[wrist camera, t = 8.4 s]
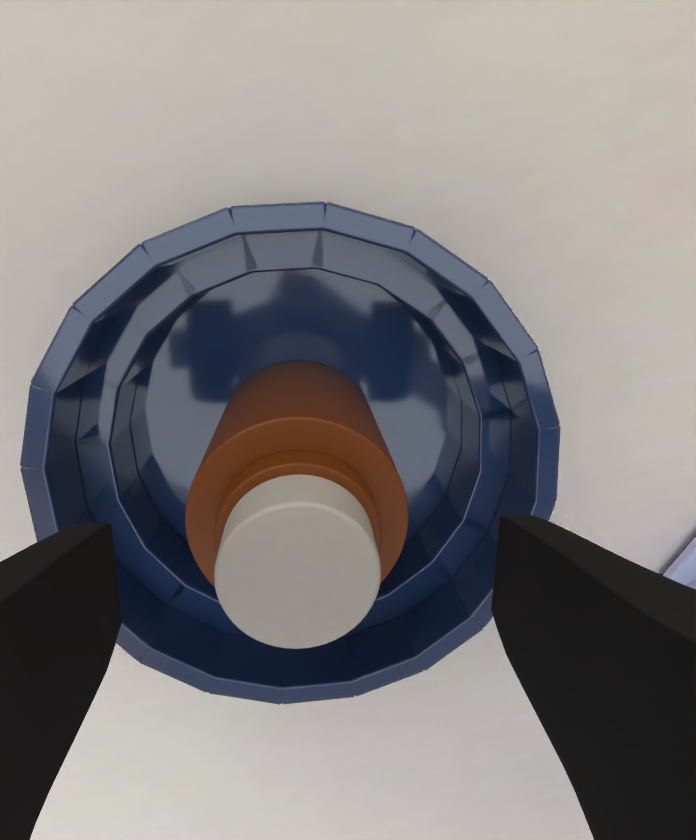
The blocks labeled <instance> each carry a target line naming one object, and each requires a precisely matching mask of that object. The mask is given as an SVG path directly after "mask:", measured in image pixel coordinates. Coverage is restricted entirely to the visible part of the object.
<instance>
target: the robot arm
mask: <svg viewBox="0 0 696 840" xmlns="http://www.w3.org/2000/svg"><path fill="white" fill-rule="evenodd" d="M491 611H492V614H493V617H494V620H495V623H496V626H497V629H498V632H499V635H500V638H501V641H502V643H503V646H504V649H505V652H506V654H507V657H508V659H509V661H510V663H511V665H512V667H513V669H514V671H515V673H516V675H517V677H518V679H519V681H520V683H521V685H522V687H523V689H524V691H525V693H526V695H527V697H528V698H529V700H530V702H531V704H532V706H533V708H534V710H535V712H536V714H537V716H538V718H539V720H540V722H541V724H542V725H543V727H544V729H545V731H546V733H547V735H548V737H549V739H550V741H551V743H552V745H553V747H554V749H555V751H556V753H557V754H558V756H559V758H560V760H561V762H562V764H563V766H564V768H565V771H566V773H567V775H568V777H569V779H570V781H571V784H572V786H573V788H574V790H575V792H576V795H577V797H578V800H579V802H580V805H581V807H582V810H583V812H584V815H585V818H586V820H587V823H588V825H589V828H590V830H591V833H592V835H593V838H594V840H696V536H695V538H694V539H693V540H692V541H691V542H690V543H689V545H688V546H687V547H686V548H685V549H684V550H683V552H682V553H681V554H680V555H679V556H678V558H677V559H676V560H675V561H674V562H673V563H672V565H671V566H670V567H669V568H668V569H667V570H666V572H665V573H664V574H663V575H660V574H658V573H656V572H653V571H651V570H649V569H646V568H644V567H642V566H640V565H638V564H636V563H633V562H631V561H629V560H627V559H625V558H623V557H621V556H619V555H617V554H614V553H612V552H610V551H608V550H606V549H604V548H602V547H600V546H598V545H596V544H594V543H592V542H590V541H588V540H586V539H584V538H582V537H580V536H578V535H576V534H574V533H572V532H570V531H568V530H566V529H564V528H562V527H560V526H558V525H556V524H553V523H551V522H549V521H547V520H544V519H542V518H539V517H536V516H533V515H507V516H500V522H499V532H498V542H497V552H496V563H495V573H494V583H493V594H492V604H491ZM121 623H122V616H121V606H120V597H119V588H118V579H117V570H116V561H115V551H114V542H113V533H112V524H111V523H106V524H76V525H73V526H70V527H68V528H65V529H63V530H61V531H59V532H57V533H55V534H53V535H51V536H49V537H47V538H45V539H43V540H41V541H39V542H37V543H35V544H33V545H31V546H29V547H28V548H26V549H24V550H22V551H20V552H18V553H16V554H14V555H13V556H11V557H9V558H7V559H5V560H3V561H1V562H0V840H30V837H31V834H32V832H33V829H34V826H35V823H36V821H37V818H38V816H39V814H40V811H41V809H42V807H43V805H44V802H45V800H46V798H47V795H48V793H49V791H50V789H51V787H52V784H53V782H54V780H55V778H56V776H57V774H58V772H59V770H60V768H61V766H62V764H63V762H64V759H65V757H66V755H67V753H68V751H69V749H70V747H71V745H72V743H73V741H74V739H75V737H76V735H77V732H78V730H79V728H80V726H81V724H82V722H83V720H84V718H85V716H86V714H87V712H88V710H89V707H90V705H91V703H92V701H93V699H94V697H95V695H96V693H97V690H98V688H99V686H100V684H101V682H102V680H103V678H104V675H105V673H106V671H107V668H108V665H109V662H110V659H111V656H112V653H113V650H114V647H115V643H116V640H117V637H118V633H119V630H120V627H121Z"/></svg>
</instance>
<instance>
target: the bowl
mask: <svg viewBox="0 0 696 840" xmlns="http://www.w3.org/2000/svg"><path fill="white" fill-rule="evenodd" d="M288 361H308V362H314V363H318V364H322V365H325V366H328V367H330V368H332V369H334V370H336V371H338V372H340V373H341V374H343V375H344V376H346V377H347V378H348V379H350V380H351V381H352V382H353V383H354V384H355V385H356V386H357V387H358V389H359V390H360V391H361V392H362V394H363V395H364V397H365V399H366V400H367V402H368V404H369V406H370V409H371V411H372V413H373V416H374V418H375V420H376V423H377V425H378V427H379V430H380V432H381V434H382V436H383V439H384V441H385V443H386V446H387V448H388V450H389V453H390V455H391V457H392V460H393V462H394V464H395V467H396V469H397V471H398V474H399V476H400V478H401V480H402V483H403V485H404V489H405V493H406V496H407V503H408V510H409V511H408V528H407V535H406V539H405V542H404V545H403V549H402V551H401V553H400V555H399V557H398V560H397V562H396V563H395V565H394V566H393V568H392V569H391V571H390V573H389V574H388V575H387V576H386V577H385V579H384V580H383V581H382V582H381V583H380V587H379V590H378V593H377V596H376V599H375V601H374V603H373V605H372V607H371V608H370V610H369V612H368V613H367V615H366V616H365V617H364V618H363V619H362V621H361V622H360V623H359V624H358V625H357V626H355V627H354V628H353V629H352V630H351V631H349V632H348V633H346V634H345V635H343V636H342V637H340V638H338V639H336V640H334V641H331V642H329V643H327V644H323V645H320V646H316V647H310V648H301V649H290V648H281V647H275V646H272V645H268V644H265V643H263V642H260V641H258V640H256V639H254V638H252V637H250V636H248V635H247V634H246V633H244V632H243V631H241V630H240V629H239V628H238V627H237V626H236V625H235V624H234V623H233V622H232V621H231V620H230V618H229V617H228V616H227V615H226V613H225V611H224V610H223V608H222V606H221V604H220V602H219V599H218V597H217V593H216V589H215V587H214V586H213V585H212V584H211V583H210V582H209V580H208V579H207V578H206V577H205V575H204V574H203V573H202V571H201V570H200V568H199V566H198V564H197V563H196V561H195V559H194V557H193V554H192V552H191V549H190V547H189V543H188V539H187V535H186V526H185V511H186V503H187V498H188V494H189V491H190V488H191V485H192V482H193V480H194V477H195V475H196V473H197V471H198V468H199V466H200V464H201V462H202V459H203V457H204V455H205V453H206V450H207V448H208V446H209V444H210V441H211V439H212V437H213V435H214V432H215V430H216V428H217V426H218V423H219V421H220V419H221V417H222V414H223V412H224V410H225V408H226V406H227V404H228V402H229V400H230V398H231V396H232V395H233V394H234V392H235V391H236V389H237V388H238V387H239V386H240V385H241V384H242V383H243V382H244V381H245V380H246V379H248V378H249V377H250V376H251V375H253V374H255V373H256V372H258V371H259V370H261V369H264V368H266V367H268V366H271V365H274V364H277V363H282V362H288ZM31 383H32V384H31V385H30V390H29V398H28V406H27V414H26V422H25V430H24V438H23V446H22V454H21V462H20V465H21V466H22V467H21V473H22V478H23V482H24V486H25V491H26V495H27V499H28V504H29V508H30V512H31V517H32V521H33V525H34V530H35V534H36V538H37V542H39V541H41V540H43V539H45V538H47V537H49V536H51V535H53V534H55V533H57V532H59V531H61V530H63V529H65V528H68V527H70V526H73V525H76V524H106V523H111V524H112V533H113V542H114V551H115V561H116V570H117V579H118V588H119V597H120V606H121V616H122V623H121V627H120V630H119V633H118V637H117V640H116V643H117V644H118V645H119V646H120V647H121V648H123V649H124V650H125V651H126V652H127V653H128V654H130V655H131V656H132V657H133V658H134V659H136V660H137V661H138V660H139V662H140V663H141V664H144V665H146V666H148V667H150V668H153V669H155V670H157V671H159V672H161V673H164V674H166V675H168V676H170V677H173V678H175V679H177V680H179V681H182V682H184V683H186V684H188V685H190V686H193V687H195V688H197V689H199V690H202V691H204V692H208V693H210V694H217V695H223V696H229V697H236V698H242V699H249V700H255V701H261V702H268V703H274V704H281V703H282V704H291V703H301V702H311V701H321V700H330V699H340V698H350V697H354V696H355V695H356V696H359V695H362V694H365V693H367V692H370V691H372V690H375V689H378V688H380V687H383V686H386V685H388V684H391V683H394V682H396V681H399V680H402V679H404V678H407V677H410V676H412V675H415V674H418V673H420V672H422V671H423V670H427V669H428V668H430V667H431V666H433V665H434V664H435V663H437V662H438V661H439V660H441V659H442V658H444V657H445V656H446V655H448V654H449V653H451V652H452V651H453V650H455V649H456V648H458V647H459V646H460V645H462V644H463V643H464V642H466V641H467V640H469V639H470V638H471V637H473V636H474V635H476V634H477V633H478V632H480V631H481V630H482V629H483V627H485V626H486V625H487V623H488V622H489V621H490V620H491V618H492V617H493V614H492V611H491V604H492V594H493V583H494V573H495V563H496V552H497V542H498V532H499V522H500V516H507V515H533V516H536V517H539V518H542V519H544V520H547V521H549V518H550V516H551V513H552V511H553V508H554V506H555V501H556V498H557V480H558V462H559V443H560V426H559V419H558V415H557V412H556V408H555V405H554V401H553V398H552V394H551V391H550V387H549V384H548V380H547V377H546V373H545V370H544V366H543V363H542V359H541V356H540V352H539V350H538V347H537V345H536V344H535V342H534V341H533V340H532V338H531V337H530V335H529V334H528V333H527V331H526V330H525V328H524V327H523V325H522V324H521V323H520V321H519V320H518V318H517V317H516V316H515V314H514V313H513V311H512V310H511V309H510V307H509V306H508V304H507V303H506V301H505V300H504V299H503V297H502V296H501V294H500V293H499V292H498V290H497V289H496V287H495V286H494V285H493V283H492V282H491V281H490V280H488V278H487V277H486V276H484V275H483V274H481V273H480V272H478V271H477V270H476V269H474V268H473V267H471V266H470V265H469V264H467V263H466V262H464V261H463V260H462V259H460V258H459V257H457V256H456V255H454V254H453V253H452V252H450V251H449V250H447V249H446V248H445V247H443V246H442V245H440V244H439V243H437V242H436V241H435V240H433V239H432V238H430V237H429V236H428V235H426V234H425V233H423V232H422V231H421V230H419V229H415V228H414V227H413V226H409V225H406V224H403V223H399V222H396V221H392V220H389V219H385V218H382V217H378V216H375V215H371V214H368V213H364V212H361V211H358V210H354V209H351V208H347V207H344V206H340V205H337V204H333V203H330V202H327V203H326V204H325V202H303V203H283V204H264V205H245V206H232V207H230V208H224V209H221V210H219V211H216V212H214V213H212V214H209V215H207V216H204V217H202V218H199V219H197V220H194V221H192V222H189V223H187V224H185V225H182V226H180V227H177V228H175V229H172V230H170V231H167V232H165V233H163V234H160V235H158V236H155V237H153V238H150V239H148V240H145V241H143V242H142V244H138V245H137V246H136V247H135V248H134V249H132V250H131V251H130V252H129V253H128V254H127V255H126V256H125V257H124V258H122V259H121V260H120V261H119V262H118V263H117V264H116V265H115V266H114V267H112V268H111V269H110V270H109V271H108V272H107V273H106V274H105V275H104V276H102V277H101V278H100V279H99V280H98V281H97V282H96V283H95V284H94V285H92V286H91V287H90V288H89V289H88V290H87V291H86V292H85V293H84V294H82V295H81V296H80V297H79V298H78V299H77V300H76V301H75V302H74V303H73V306H71V307H70V308H69V310H68V312H67V314H66V315H65V317H64V319H63V321H62V323H61V325H60V327H59V329H58V331H57V333H56V335H55V336H54V338H53V340H52V342H51V344H50V346H49V348H48V350H47V352H46V354H45V356H44V357H43V359H42V361H41V363H40V365H39V367H38V369H37V371H36V373H35V375H34V377H33V378H32V380H31Z"/></svg>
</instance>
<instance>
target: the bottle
mask: <svg viewBox="0 0 696 840" xmlns="http://www.w3.org/2000/svg"><path fill="white" fill-rule="evenodd" d="M408 511H409V510H408V503H407V496H406V493H405V489H404V485H403V483H402V480H401V478H400V476H399V474H398V471H397V469H396V467H395V464H394V462H393V460H392V457H391V455H390V453H389V450H388V448H387V446H386V443H385V441H384V439H383V436H382V434H381V432H380V430H379V427H378V425H377V423H376V420H375V418H374V416H373V413H372V411H371V409H370V406H369V404H368V402H367V400H366V399H365V397H364V395H363V394H362V392H361V391H360V390H359V389H358V387H357V386H356V385H355V384H354V383H353V382H352V381H351V380H350V379H348V378H347V377H346V376H344V375H343V374H341V373H340V372H338V371H336V370H334V369H332V368H330V367H328V366H325V365H322V364H318V363H314V362H308V361H288V362H282V363H277V364H274V365H271V366H268V367H266V368H264V369H261V370H259V371H258V372H256V373H255V374H253V375H251V376H250V377H249V378H248V379H246V380H245V381H244V382H243V383H242V384H241V385H240V386H239V387H238V388H237V389H236V391H235V392H234V394H233V395H232V396H231V398H230V400H229V402H228V404H227V406H226V408H225V410H224V412H223V414H222V417H221V419H220V421H219V423H218V426H217V428H216V430H215V432H214V435H213V437H212V439H211V441H210V444H209V446H208V448H207V450H206V453H205V455H204V457H203V459H202V462H201V464H200V466H199V468H198V471H197V473H196V475H195V477H194V480H193V482H192V485H191V488H190V491H189V494H188V498H187V503H186V511H185V526H186V535H187V539H188V543H189V547H190V549H191V552H192V554H193V557H194V559H195V561H196V563H197V564H198V566H199V568H200V570H201V571H202V573H203V574H204V575H205V577H206V578H207V579H208V580H209V582H210V583H211V584H212V585H213V586H214V587H215V589H216V593H217V597H218V599H219V602H220V604H221V606H222V608H223V610H224V611H225V613H226V615H227V616H228V617H229V618H230V620H231V621H232V622H233V623H234V624H235V625H236V626H237V627H238V628H239V629H240V630H241V631H243V632H244V633H246V634H247V635H248V636H250V637H252V638H254V639H256V640H258V641H260V642H263V643H265V644H268V645H272V646H275V647H281V648H290V649H301V648H310V647H316V646H320V645H323V644H327V643H329V642H331V641H334V640H336V639H338V638H340V637H342V636H343V635H345V634H346V633H348V632H349V631H351V630H352V629H353V628H354V627H355V626H357V625H358V624H359V623H360V622H361V621H362V619H363V618H364V617H365V616H366V615H367V613H368V612H369V610H370V608H371V607H372V605H373V603H374V601H375V599H376V596H377V593H378V590H379V587H380V583H381V582H382V581H383V580H384V579H385V577H386V576H387V575H388V574H389V573H390V571H391V569H392V568H393V566H394V565H395V563H396V562H397V560H398V557H399V555H400V553H401V551H402V549H403V545H404V542H405V539H406V535H407V528H408Z"/></svg>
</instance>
